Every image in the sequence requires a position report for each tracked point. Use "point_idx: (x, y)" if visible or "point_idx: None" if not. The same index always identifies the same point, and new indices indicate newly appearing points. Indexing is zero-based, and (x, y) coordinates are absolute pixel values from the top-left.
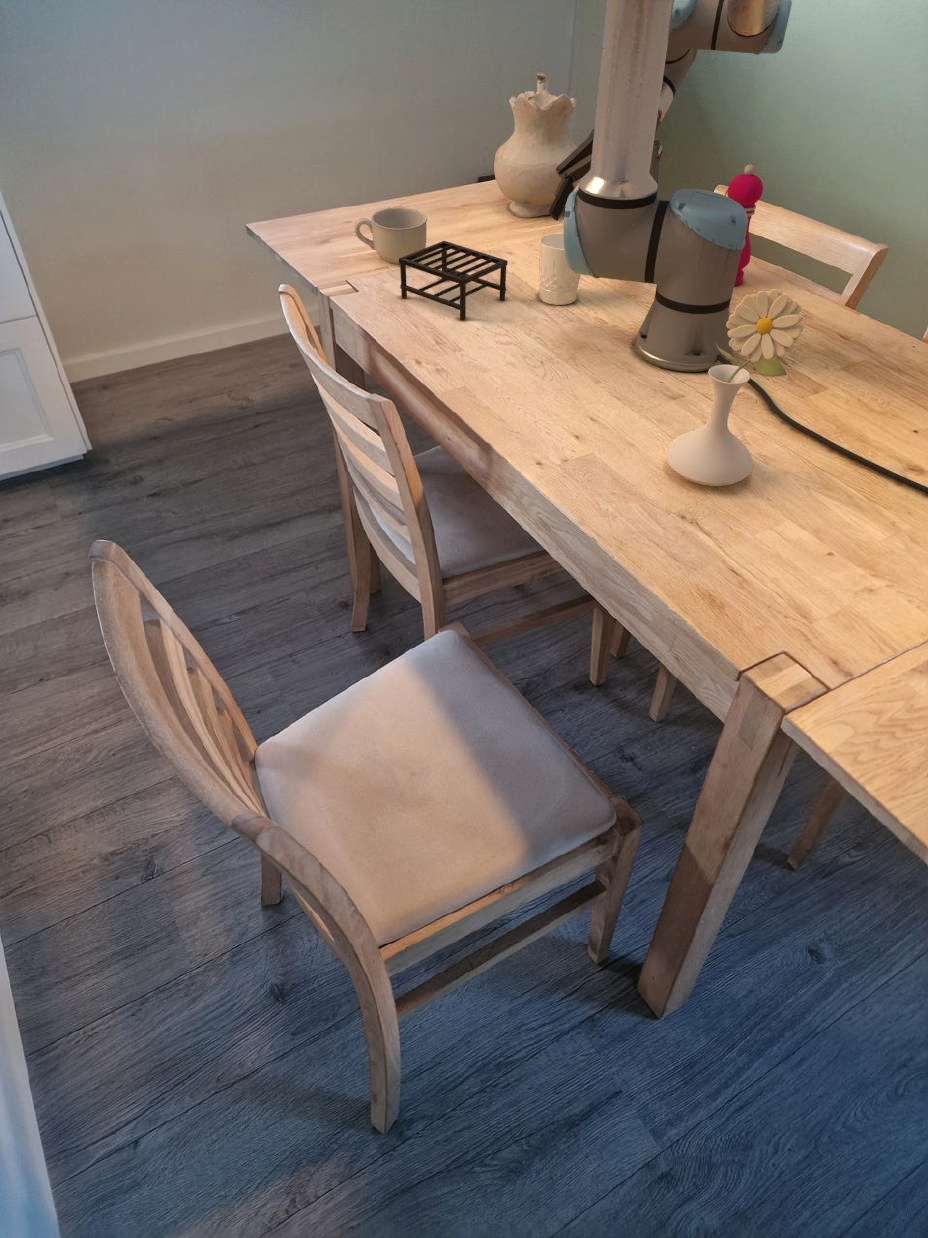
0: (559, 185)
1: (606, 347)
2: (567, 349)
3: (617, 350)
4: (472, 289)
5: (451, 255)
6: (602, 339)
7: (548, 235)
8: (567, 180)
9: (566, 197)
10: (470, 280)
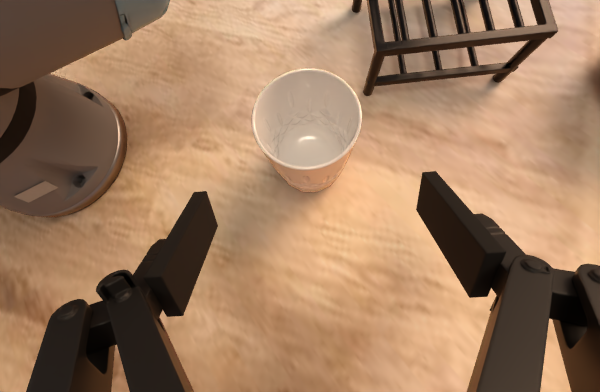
0: (503, 238)
1: (152, 87)
2: (188, 47)
3: (136, 91)
4: (399, 40)
5: (479, 2)
6: (169, 101)
7: (358, 122)
8: (483, 245)
9: (447, 245)
10: None
